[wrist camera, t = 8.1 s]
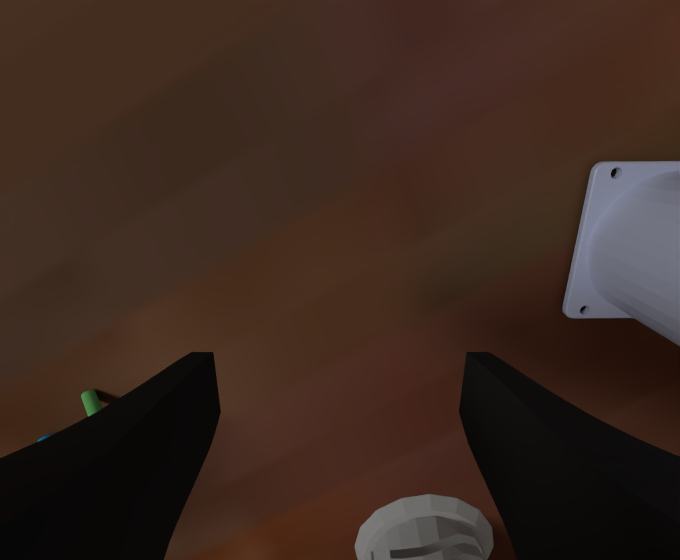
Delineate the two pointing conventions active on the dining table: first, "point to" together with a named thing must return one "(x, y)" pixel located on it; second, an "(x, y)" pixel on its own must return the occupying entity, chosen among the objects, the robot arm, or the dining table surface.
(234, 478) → the dining table surface
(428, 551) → the french press
